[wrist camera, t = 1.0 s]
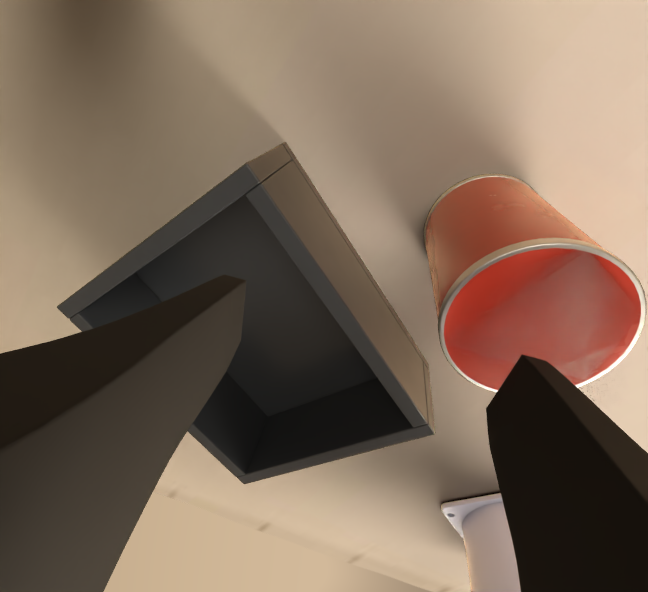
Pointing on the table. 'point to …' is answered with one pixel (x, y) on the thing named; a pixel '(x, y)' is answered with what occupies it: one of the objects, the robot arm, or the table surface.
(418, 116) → the table surface
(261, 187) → the drawer
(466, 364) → the tin can
